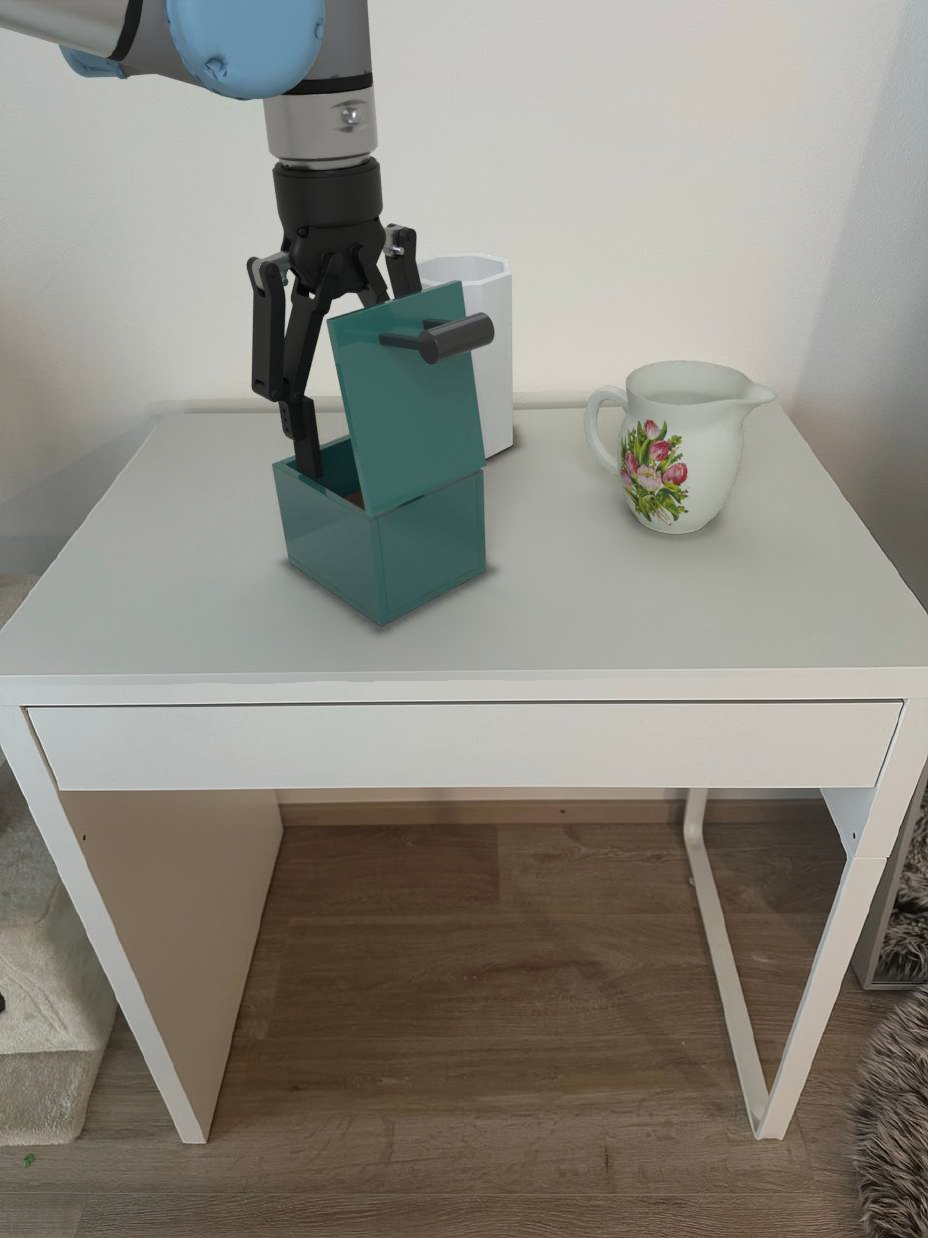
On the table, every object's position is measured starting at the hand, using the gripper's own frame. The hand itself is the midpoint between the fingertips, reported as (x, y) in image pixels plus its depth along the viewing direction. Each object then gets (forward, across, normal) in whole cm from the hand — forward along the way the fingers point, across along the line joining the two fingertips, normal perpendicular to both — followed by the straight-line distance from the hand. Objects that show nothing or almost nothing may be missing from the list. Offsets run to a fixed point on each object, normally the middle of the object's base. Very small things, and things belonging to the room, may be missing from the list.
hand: (356, 453), depth 78 cm
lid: (-7, 0, -8) cm, 11 cm away
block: (+9, 0, 0) cm, 9 cm away
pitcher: (+10, +24, -14) cm, 30 cm away
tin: (+10, 0, -3) cm, 10 cm away
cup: (+10, +22, +11) cm, 27 cm away
